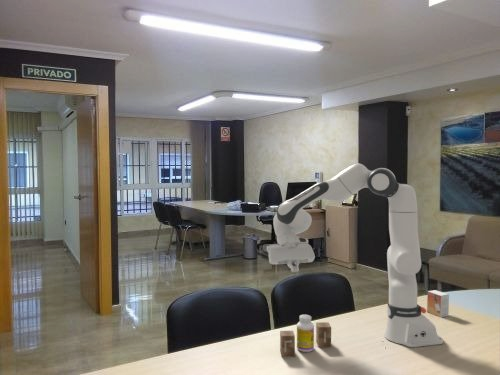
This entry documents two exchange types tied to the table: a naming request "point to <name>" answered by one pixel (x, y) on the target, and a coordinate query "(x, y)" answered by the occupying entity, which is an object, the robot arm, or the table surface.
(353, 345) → the table surface
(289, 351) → the walnut block seven
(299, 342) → the supplement bottle
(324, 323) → the walnut block one
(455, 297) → the table surface
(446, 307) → the small box
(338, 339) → the table surface
